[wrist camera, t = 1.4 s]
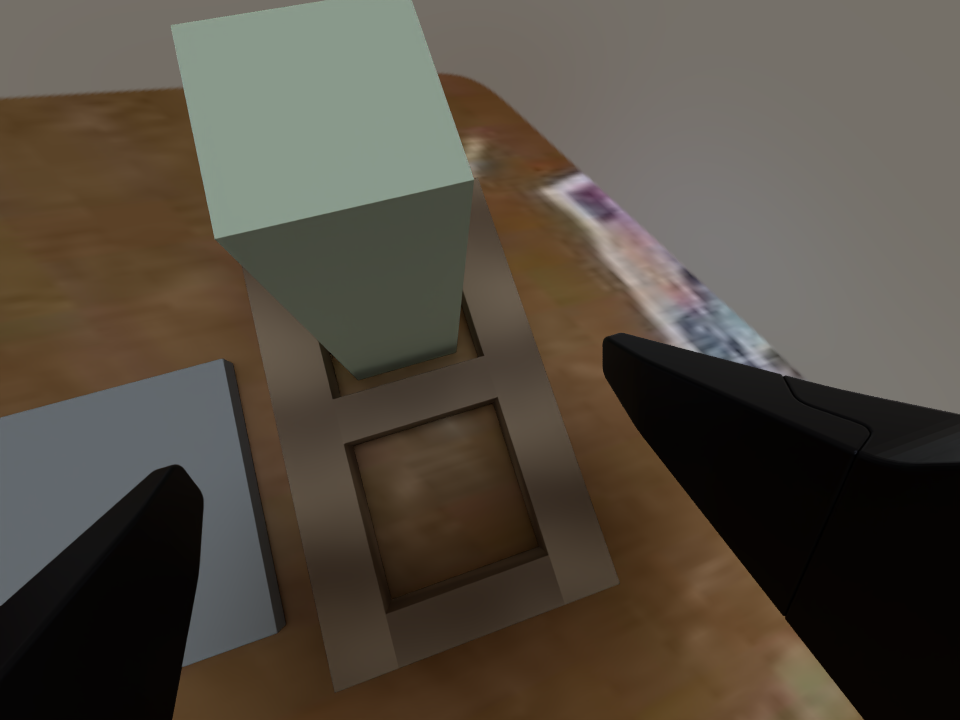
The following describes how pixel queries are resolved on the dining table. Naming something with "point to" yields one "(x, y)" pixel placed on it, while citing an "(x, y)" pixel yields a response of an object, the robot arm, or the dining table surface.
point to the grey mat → (123, 465)
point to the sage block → (335, 172)
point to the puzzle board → (406, 404)
